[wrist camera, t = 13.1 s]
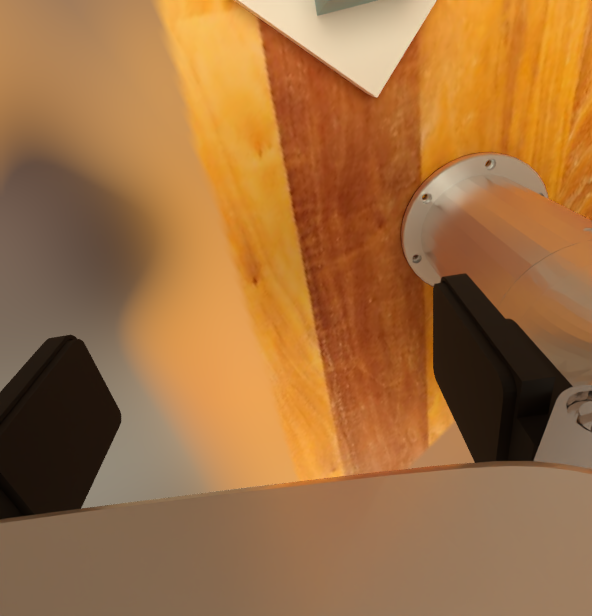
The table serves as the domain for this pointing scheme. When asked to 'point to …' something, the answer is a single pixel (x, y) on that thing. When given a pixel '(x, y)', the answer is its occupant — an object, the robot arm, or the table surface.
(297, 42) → the cream block
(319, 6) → the teal block
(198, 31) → the table surface
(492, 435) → the robot arm
